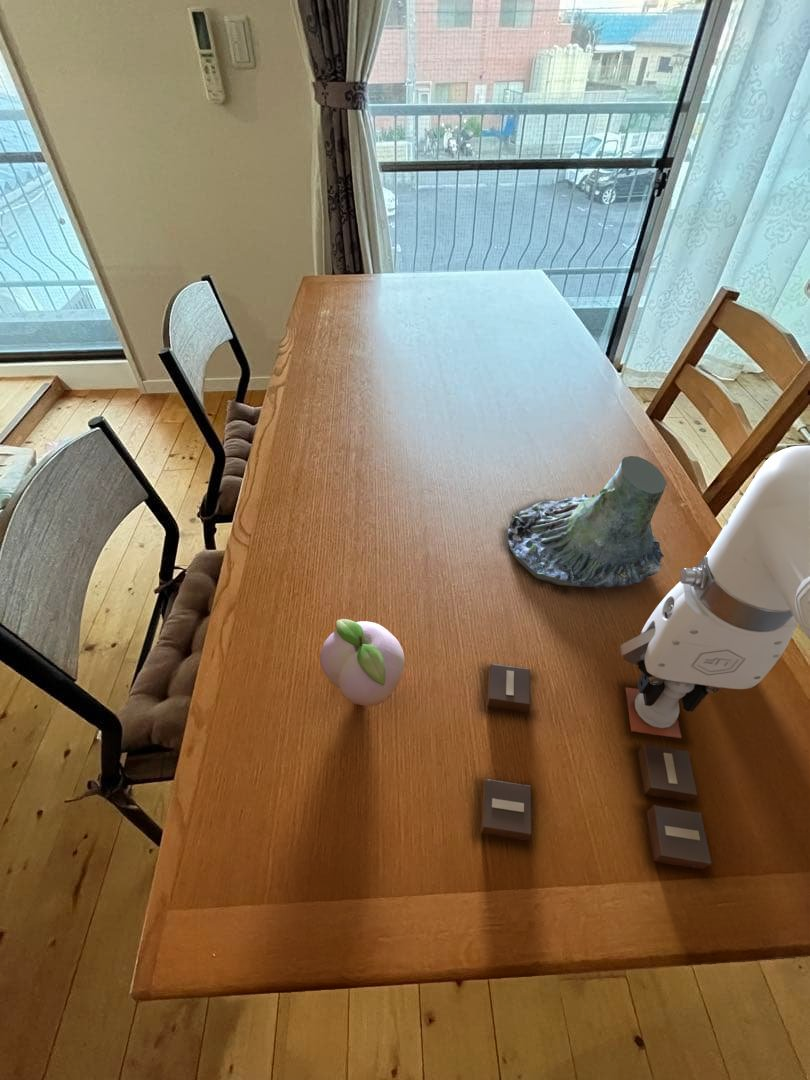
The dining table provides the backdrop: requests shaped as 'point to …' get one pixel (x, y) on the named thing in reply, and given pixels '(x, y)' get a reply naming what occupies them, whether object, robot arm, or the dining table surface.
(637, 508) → the tree stump
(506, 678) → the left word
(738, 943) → the dining table surface
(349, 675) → the decorative fruit
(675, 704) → the rook chess piece
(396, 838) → the dining table surface
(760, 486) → the robot arm
